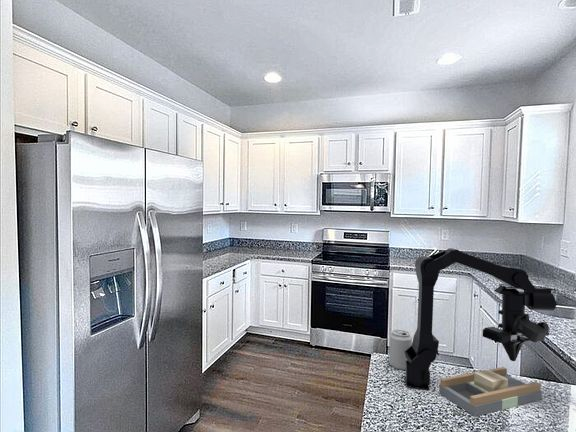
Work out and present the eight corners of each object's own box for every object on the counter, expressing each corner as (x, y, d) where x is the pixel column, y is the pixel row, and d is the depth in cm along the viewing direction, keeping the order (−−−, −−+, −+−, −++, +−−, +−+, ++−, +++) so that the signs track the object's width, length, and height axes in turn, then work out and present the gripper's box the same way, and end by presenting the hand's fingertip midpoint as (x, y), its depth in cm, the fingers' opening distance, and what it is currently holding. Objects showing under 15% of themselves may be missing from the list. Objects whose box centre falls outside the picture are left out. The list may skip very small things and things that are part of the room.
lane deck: (474, 416, 86) (475, 399, 86) (439, 393, 97) (439, 378, 97) (541, 399, 95) (541, 384, 95) (502, 380, 106) (502, 366, 106)
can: (413, 372, 111) (413, 336, 111) (390, 369, 112) (390, 334, 112) (409, 362, 118) (410, 329, 118) (388, 360, 120) (388, 327, 120)
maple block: (492, 394, 92) (492, 381, 92) (474, 384, 98) (474, 372, 98) (507, 391, 94) (508, 378, 94) (488, 381, 100) (489, 369, 100)
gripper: (518, 319, 89) (517, 377, 88) (563, 313, 95) (563, 367, 95) (481, 308, 99) (480, 360, 99) (524, 304, 105) (523, 352, 105)
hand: (512, 360), depth 99 cm, fingers closed
